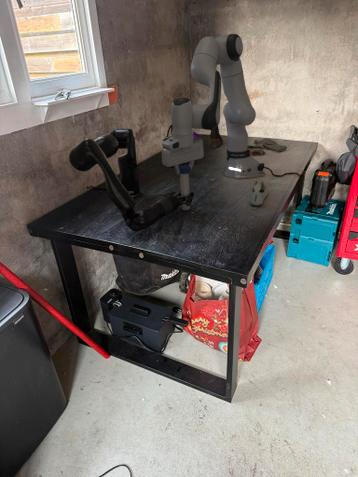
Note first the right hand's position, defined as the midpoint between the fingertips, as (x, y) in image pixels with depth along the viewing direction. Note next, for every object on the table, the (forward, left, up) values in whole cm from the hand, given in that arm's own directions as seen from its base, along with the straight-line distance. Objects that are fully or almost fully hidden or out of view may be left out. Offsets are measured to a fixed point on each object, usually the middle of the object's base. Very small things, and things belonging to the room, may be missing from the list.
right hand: (184, 172), depth 145 cm
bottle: (0, 0, -18) cm, 18 cm away
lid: (0, 0, +2) cm, 2 cm away
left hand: (-2, -2, -11) cm, 11 cm away
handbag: (+4, -72, -18) cm, 74 cm away
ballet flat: (-36, -8, -18) cm, 41 cm away
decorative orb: (-6, -92, -18) cm, 94 cm away
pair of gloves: (-55, -91, -18) cm, 108 cm away
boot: (-27, -112, -18) cm, 116 cm away
